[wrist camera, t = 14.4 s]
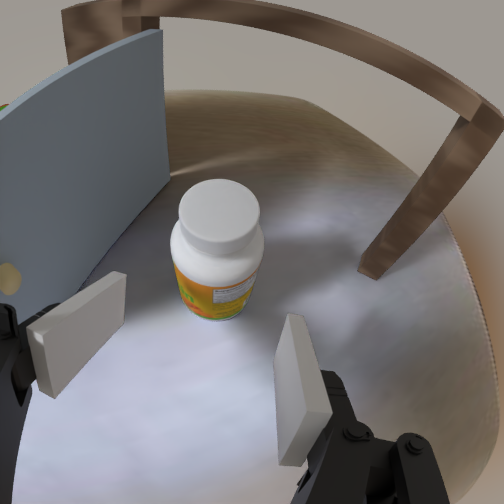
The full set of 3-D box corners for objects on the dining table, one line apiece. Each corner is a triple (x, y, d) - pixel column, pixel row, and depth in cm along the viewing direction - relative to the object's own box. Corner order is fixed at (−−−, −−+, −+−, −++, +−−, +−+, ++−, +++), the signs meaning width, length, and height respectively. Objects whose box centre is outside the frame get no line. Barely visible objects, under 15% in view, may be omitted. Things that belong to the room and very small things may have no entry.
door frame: (89, 149, 29) (61, 10, 13) (100, 140, 30) (78, 3, 14) (376, 280, 24) (508, 123, 9) (380, 263, 25) (498, 109, 10)
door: (154, 172, 27) (141, 28, 14) (178, 182, 27) (173, 30, 14) (28, 327, 17) (-98, 213, 4) (50, 349, 17) (-94, 240, 4)
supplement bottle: (171, 271, 22) (152, 183, 14) (233, 250, 24) (246, 160, 16) (194, 333, 20) (183, 271, 12) (261, 307, 22) (294, 234, 13)
